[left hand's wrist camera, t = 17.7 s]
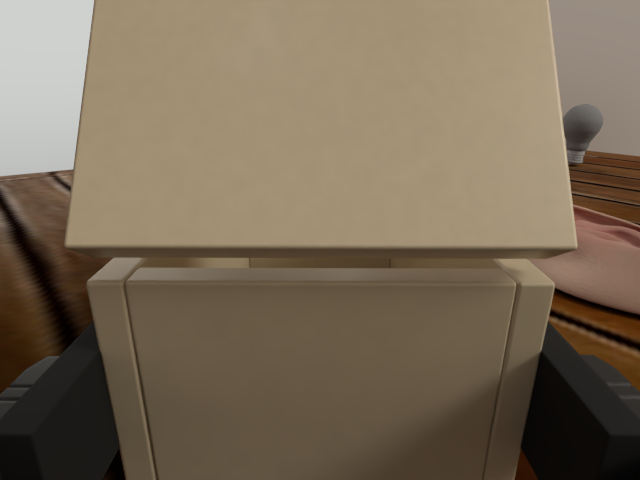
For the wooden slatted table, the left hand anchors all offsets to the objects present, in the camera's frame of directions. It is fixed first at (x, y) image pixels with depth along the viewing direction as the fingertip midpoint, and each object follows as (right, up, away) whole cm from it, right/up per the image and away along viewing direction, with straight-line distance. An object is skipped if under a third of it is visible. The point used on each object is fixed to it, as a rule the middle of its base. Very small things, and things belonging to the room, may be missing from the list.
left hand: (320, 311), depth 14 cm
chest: (0, -5, +6) cm, 8 cm away
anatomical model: (+22, -1, +19) cm, 29 cm away
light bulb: (+44, +15, +62) cm, 78 cm away
